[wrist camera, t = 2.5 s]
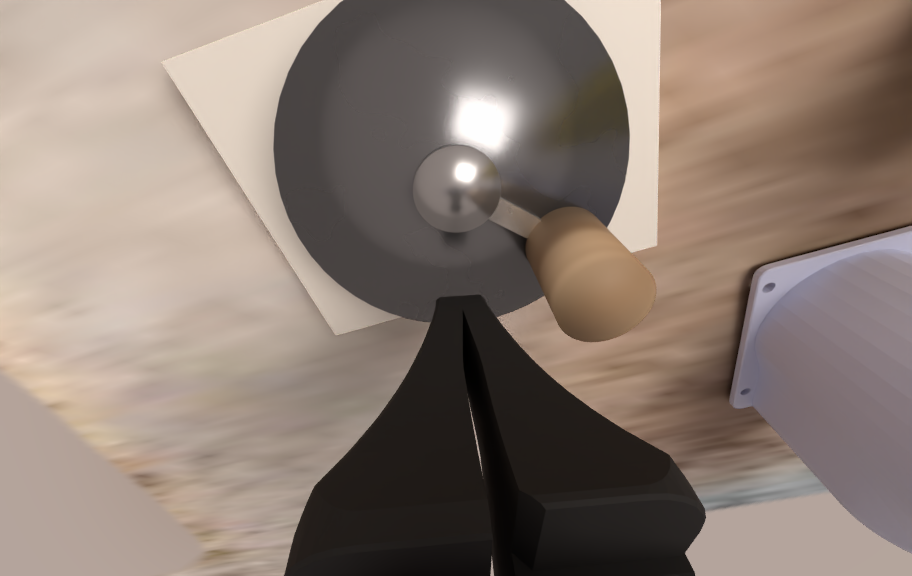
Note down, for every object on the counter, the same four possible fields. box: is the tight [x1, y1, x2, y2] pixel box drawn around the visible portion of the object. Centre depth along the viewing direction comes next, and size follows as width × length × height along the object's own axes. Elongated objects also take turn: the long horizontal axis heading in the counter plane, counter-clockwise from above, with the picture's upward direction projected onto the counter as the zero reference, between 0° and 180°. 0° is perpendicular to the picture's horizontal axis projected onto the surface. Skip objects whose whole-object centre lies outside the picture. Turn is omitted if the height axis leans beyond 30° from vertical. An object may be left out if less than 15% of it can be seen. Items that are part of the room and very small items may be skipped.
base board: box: [161, 0, 661, 336], centre depth 12 cm, size 10×13×1 cm
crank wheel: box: [273, 0, 656, 342], centre depth 10 cm, size 10×10×5 cm
